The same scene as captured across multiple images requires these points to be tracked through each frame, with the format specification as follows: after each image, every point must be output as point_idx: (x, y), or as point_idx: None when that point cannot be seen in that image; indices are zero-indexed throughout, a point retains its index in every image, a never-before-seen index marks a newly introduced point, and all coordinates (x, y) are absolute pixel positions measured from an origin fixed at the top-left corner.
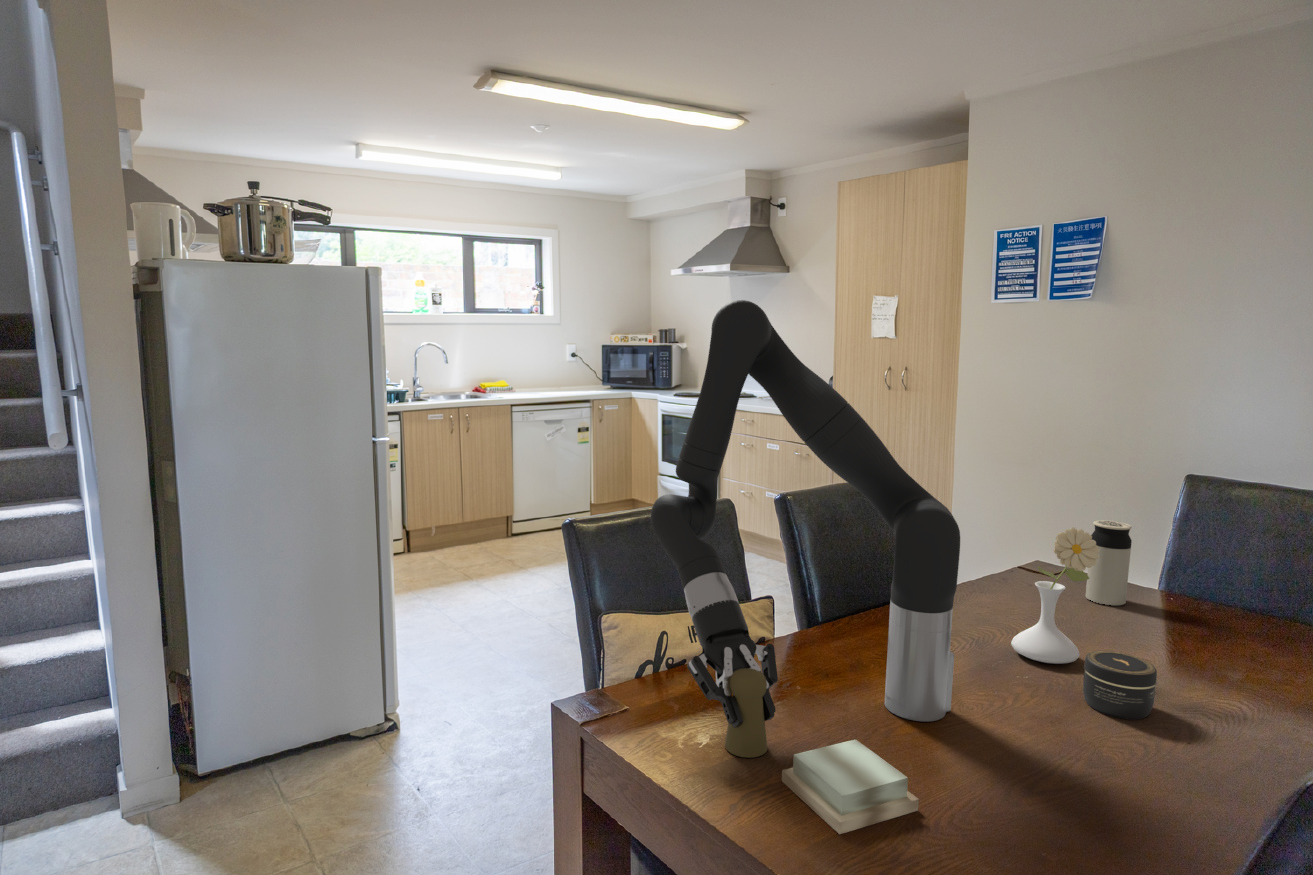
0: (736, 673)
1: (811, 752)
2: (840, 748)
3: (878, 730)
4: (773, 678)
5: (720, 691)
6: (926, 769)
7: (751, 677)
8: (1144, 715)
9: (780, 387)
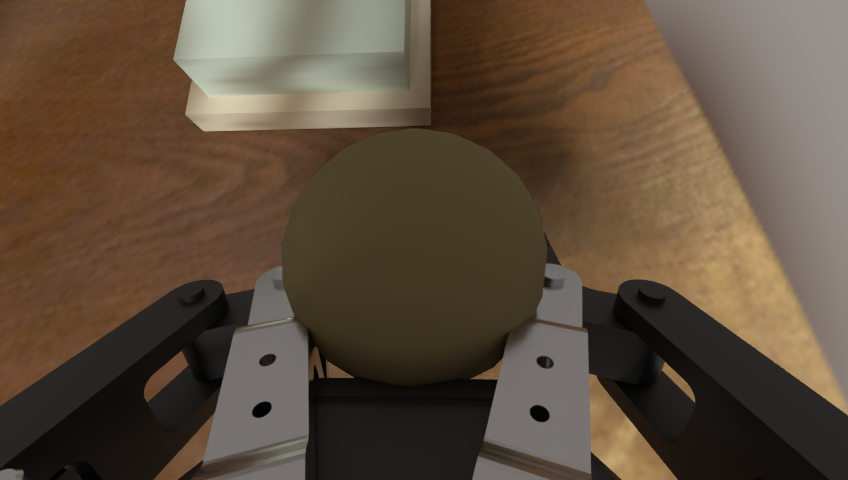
0: (504, 273)
1: (347, 44)
2: (254, 34)
3: (13, 236)
4: (199, 290)
5: (596, 306)
6: (88, 54)
7: (431, 155)
8: None
9: None
